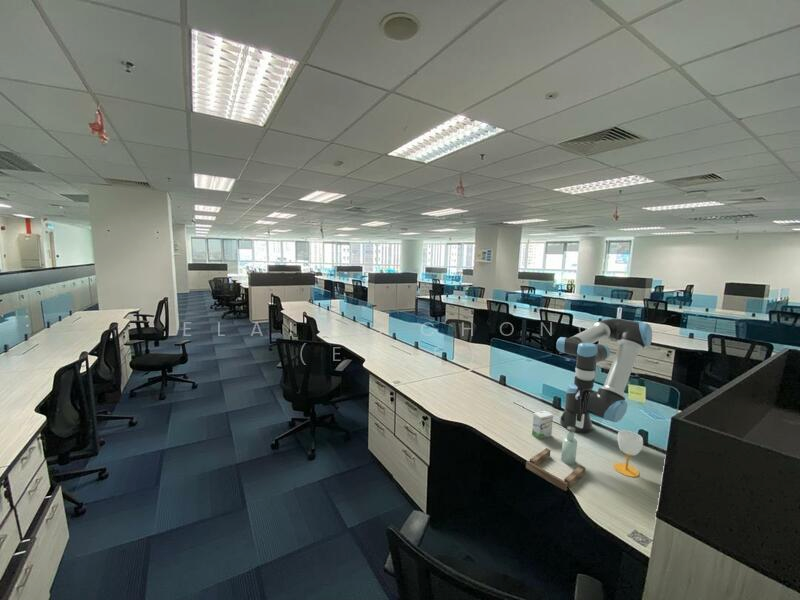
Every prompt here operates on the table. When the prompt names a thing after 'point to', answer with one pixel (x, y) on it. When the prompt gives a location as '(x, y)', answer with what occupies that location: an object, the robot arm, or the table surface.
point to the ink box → (542, 424)
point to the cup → (628, 451)
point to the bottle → (569, 447)
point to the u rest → (548, 476)
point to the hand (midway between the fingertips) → (579, 426)
